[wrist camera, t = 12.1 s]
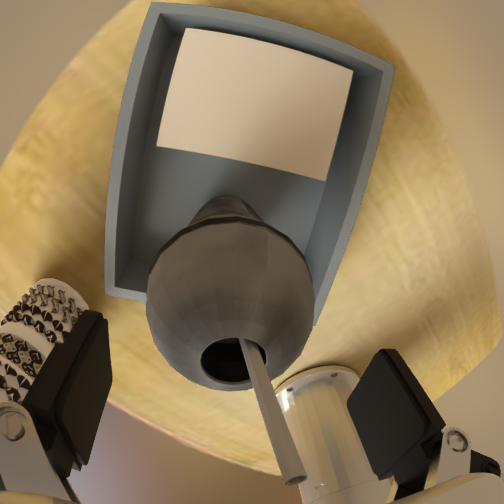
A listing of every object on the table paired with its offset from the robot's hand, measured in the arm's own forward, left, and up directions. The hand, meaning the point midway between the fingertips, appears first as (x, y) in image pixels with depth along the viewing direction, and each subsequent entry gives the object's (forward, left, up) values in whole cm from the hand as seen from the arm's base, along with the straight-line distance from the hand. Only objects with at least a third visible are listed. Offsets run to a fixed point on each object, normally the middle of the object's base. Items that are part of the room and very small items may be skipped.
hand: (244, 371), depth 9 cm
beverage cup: (0, 0, -16) cm, 16 cm away
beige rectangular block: (+9, 0, -16) cm, 18 cm away
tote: (+5, 0, -17) cm, 17 cm away
